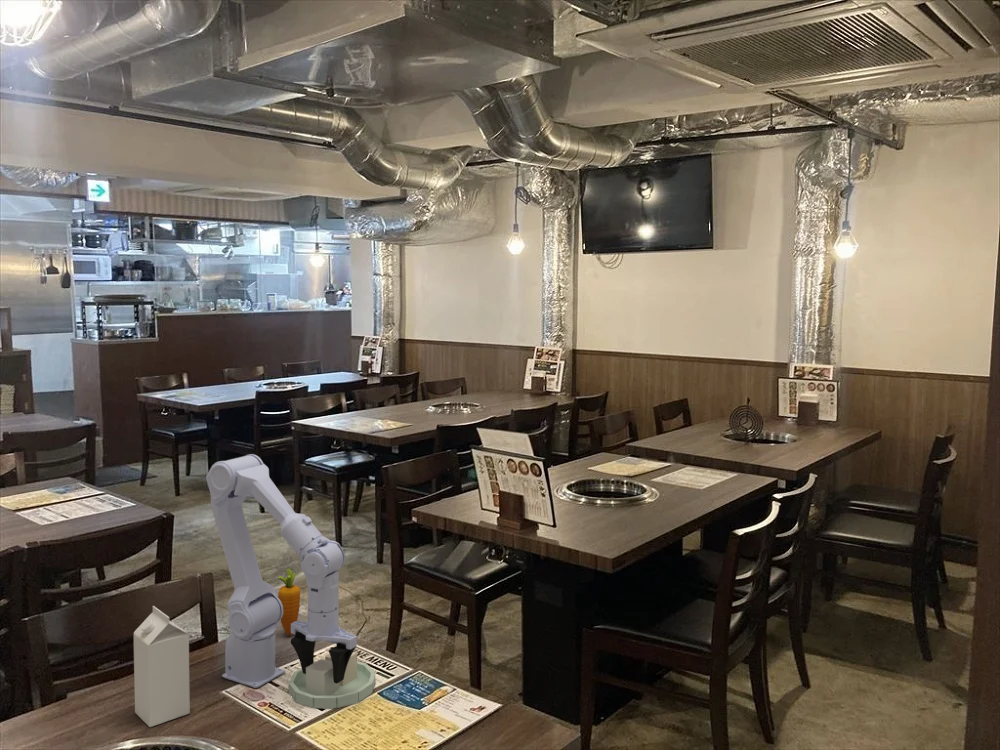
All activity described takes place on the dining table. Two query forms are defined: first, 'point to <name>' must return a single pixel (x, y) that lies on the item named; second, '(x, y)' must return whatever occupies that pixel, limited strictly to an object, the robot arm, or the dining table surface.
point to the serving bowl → (339, 698)
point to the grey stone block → (320, 678)
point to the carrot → (289, 601)
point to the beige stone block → (348, 669)
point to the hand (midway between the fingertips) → (323, 676)
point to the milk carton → (161, 670)
